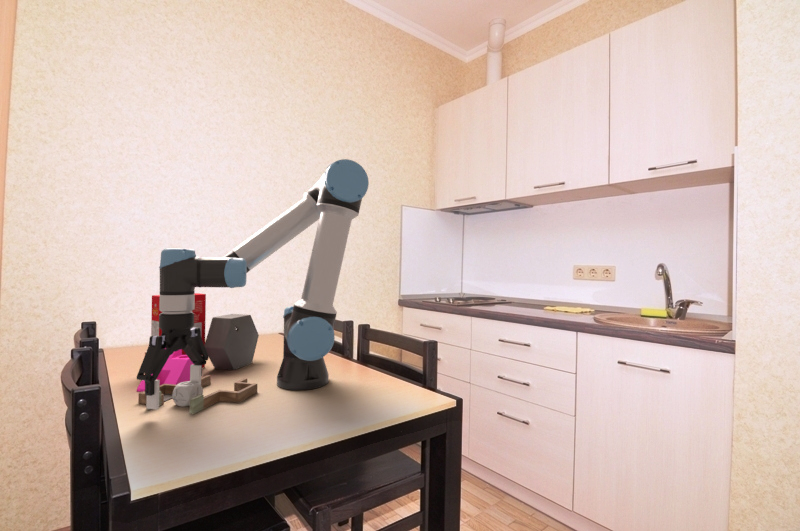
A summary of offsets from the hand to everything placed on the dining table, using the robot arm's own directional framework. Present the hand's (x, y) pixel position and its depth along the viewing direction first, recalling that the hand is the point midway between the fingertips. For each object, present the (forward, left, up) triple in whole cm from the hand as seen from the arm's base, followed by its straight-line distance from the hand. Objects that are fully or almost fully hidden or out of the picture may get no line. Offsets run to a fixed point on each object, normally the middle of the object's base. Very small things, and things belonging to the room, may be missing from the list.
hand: (175, 399), depth 98 cm
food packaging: (+25, -30, -3) cm, 39 cm away
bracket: (+16, -15, -3) cm, 22 cm away
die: (0, -4, -3) cm, 5 cm away
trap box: (0, -9, -2) cm, 9 cm away
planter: (+12, -40, -3) cm, 42 cm away
